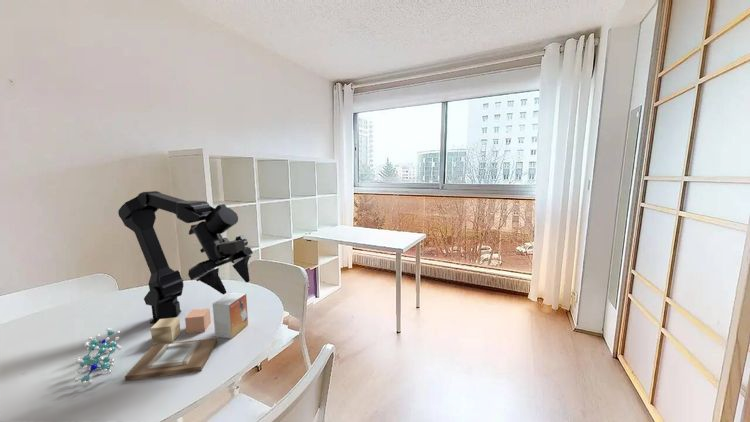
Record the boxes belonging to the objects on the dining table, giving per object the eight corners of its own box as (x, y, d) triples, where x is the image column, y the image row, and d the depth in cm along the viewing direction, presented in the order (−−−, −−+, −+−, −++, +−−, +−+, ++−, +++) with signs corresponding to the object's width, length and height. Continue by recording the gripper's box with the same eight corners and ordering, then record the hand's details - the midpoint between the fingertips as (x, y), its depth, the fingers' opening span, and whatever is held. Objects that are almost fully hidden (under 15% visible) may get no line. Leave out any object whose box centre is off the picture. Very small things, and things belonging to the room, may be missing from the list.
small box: (231, 339, 81) (228, 305, 80) (214, 337, 82) (211, 303, 81) (249, 324, 89) (246, 293, 88) (233, 322, 90) (230, 291, 89)
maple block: (152, 344, 79) (150, 328, 78) (161, 334, 84) (160, 319, 83) (172, 342, 80) (170, 326, 79) (180, 332, 85) (179, 317, 84)
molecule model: (127, 343, 80) (124, 319, 79) (117, 381, 65) (113, 352, 64) (87, 354, 75) (83, 329, 74) (67, 397, 61) (61, 367, 60)
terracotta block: (186, 333, 84) (185, 318, 84) (193, 324, 89) (192, 309, 88) (205, 331, 85) (203, 316, 85) (210, 322, 90) (209, 308, 90)
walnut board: (125, 381, 65) (124, 373, 65) (153, 349, 77) (152, 342, 77) (201, 370, 69) (200, 363, 68) (217, 341, 80) (217, 335, 80)
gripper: (202, 234, 71) (232, 288, 71) (252, 222, 89) (276, 265, 88) (174, 253, 74) (203, 305, 74) (228, 238, 92) (251, 280, 92)
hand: (237, 287), depth 82 cm, fingers open, 9 cm apart
